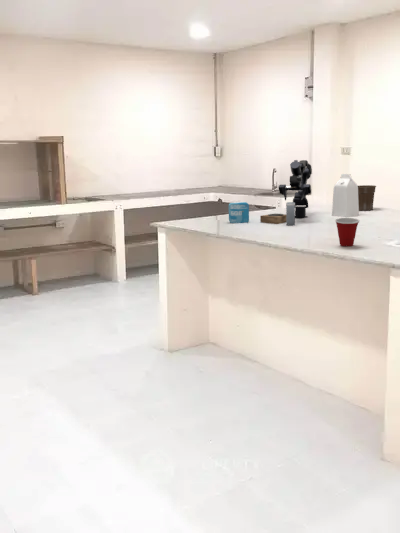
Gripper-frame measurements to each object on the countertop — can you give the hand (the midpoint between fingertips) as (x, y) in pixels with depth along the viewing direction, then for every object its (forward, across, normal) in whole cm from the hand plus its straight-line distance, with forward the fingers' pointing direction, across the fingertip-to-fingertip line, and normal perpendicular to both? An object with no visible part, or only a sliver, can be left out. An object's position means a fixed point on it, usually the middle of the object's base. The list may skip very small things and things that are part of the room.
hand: (293, 200), depth 333 cm
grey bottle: (+15, 0, +4) cm, 16 cm away
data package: (+10, -33, +10) cm, 36 cm away
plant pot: (-37, +35, +56) cm, 76 cm away
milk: (-16, +26, +35) cm, 46 cm away
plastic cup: (+59, +38, -39) cm, 80 cm away
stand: (+7, -11, +12) cm, 18 cm away
